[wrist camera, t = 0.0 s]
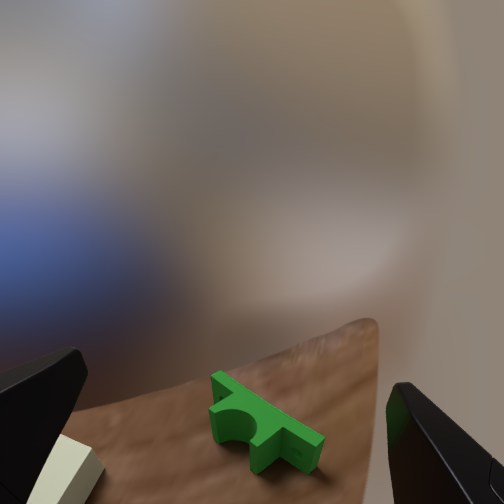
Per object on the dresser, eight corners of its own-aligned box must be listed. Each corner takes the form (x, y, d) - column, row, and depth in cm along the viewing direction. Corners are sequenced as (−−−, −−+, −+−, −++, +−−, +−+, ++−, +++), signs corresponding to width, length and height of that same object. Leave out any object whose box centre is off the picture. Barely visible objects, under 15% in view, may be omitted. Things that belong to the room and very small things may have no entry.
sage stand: (56, 553, 8) (35, 540, 7) (-11, 502, 10) (-31, 484, 9) (104, 467, 18) (91, 448, 17) (39, 436, 19) (25, 415, 18)
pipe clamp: (193, 422, 24) (185, 388, 23) (223, 404, 27) (220, 369, 25) (286, 496, 17) (291, 469, 15) (317, 467, 19) (325, 436, 18)
